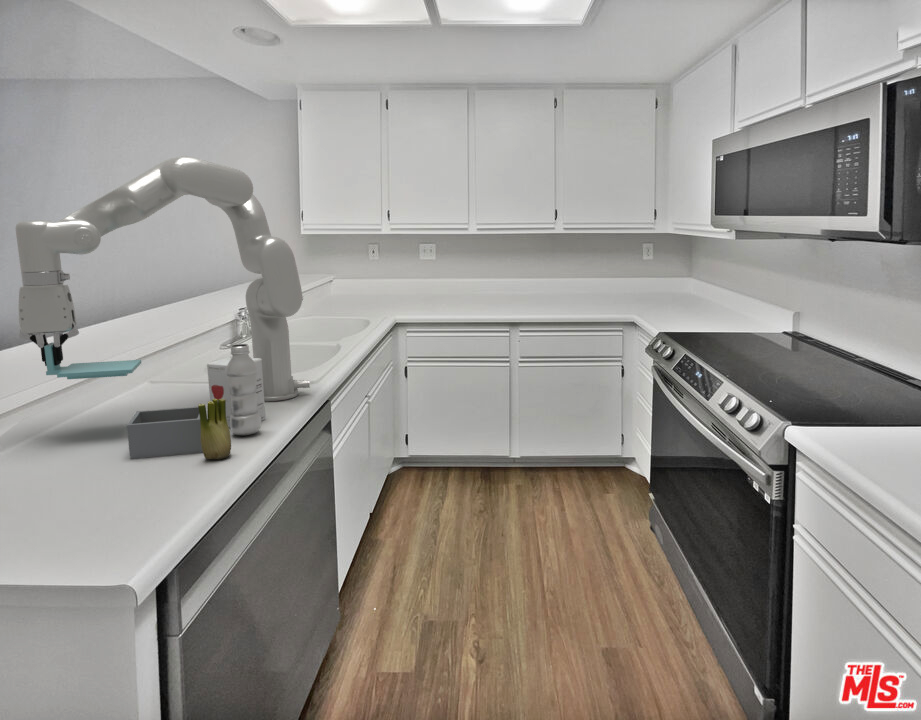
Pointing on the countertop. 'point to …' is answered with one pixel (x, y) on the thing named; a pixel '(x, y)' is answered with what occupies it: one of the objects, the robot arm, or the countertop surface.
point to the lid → (89, 367)
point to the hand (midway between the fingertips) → (53, 364)
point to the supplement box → (221, 385)
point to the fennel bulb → (215, 430)
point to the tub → (164, 432)
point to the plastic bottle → (243, 391)
